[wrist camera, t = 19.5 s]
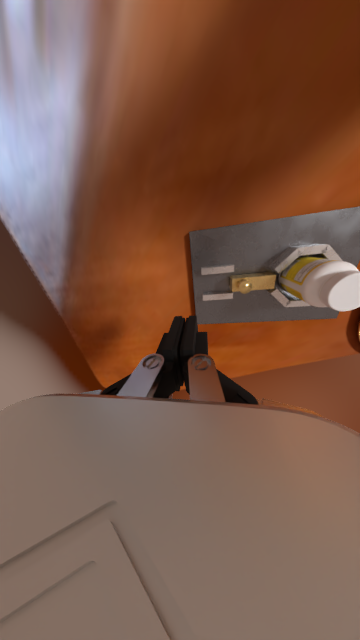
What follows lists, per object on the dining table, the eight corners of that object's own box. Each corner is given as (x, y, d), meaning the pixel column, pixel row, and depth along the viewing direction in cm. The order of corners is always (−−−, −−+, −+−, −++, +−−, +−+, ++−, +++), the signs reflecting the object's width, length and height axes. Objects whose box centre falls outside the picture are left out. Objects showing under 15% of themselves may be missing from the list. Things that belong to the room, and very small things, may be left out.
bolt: (229, 275, 24) (234, 281, 21) (269, 271, 23) (281, 277, 20) (229, 287, 25) (233, 295, 22) (267, 284, 24) (278, 291, 21)
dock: (189, 232, 23) (187, 230, 20) (373, 205, 19) (406, 198, 16) (196, 321, 31) (196, 330, 28) (332, 315, 27) (349, 325, 24)
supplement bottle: (313, 288, 24) (375, 314, 15) (275, 293, 25) (314, 320, 17) (320, 252, 22) (397, 259, 13) (278, 259, 23) (325, 270, 14)
